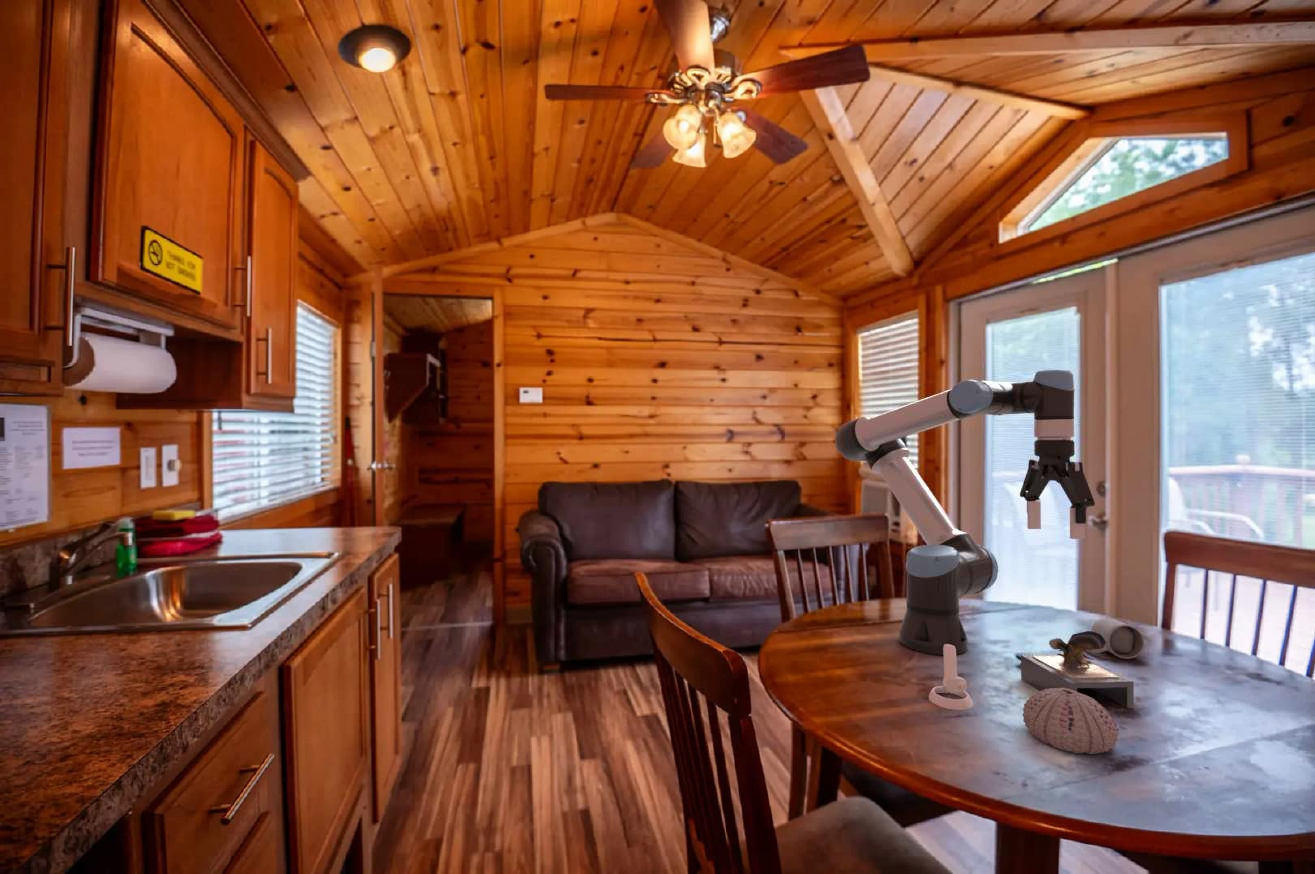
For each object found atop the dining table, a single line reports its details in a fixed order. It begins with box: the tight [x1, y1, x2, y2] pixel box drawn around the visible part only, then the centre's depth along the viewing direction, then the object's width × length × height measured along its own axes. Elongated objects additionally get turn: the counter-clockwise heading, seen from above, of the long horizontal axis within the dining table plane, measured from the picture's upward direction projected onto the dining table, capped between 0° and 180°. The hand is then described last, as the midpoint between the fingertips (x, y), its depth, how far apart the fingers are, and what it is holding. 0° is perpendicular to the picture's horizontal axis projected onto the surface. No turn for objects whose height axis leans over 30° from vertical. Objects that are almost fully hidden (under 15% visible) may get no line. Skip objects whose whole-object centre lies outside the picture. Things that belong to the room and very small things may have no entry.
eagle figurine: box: [1048, 630, 1106, 668], centre depth 118 cm, size 8×7×9 cm
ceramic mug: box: [1085, 618, 1145, 660], centre depth 138 cm, size 11×8×8 cm
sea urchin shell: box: [1022, 688, 1120, 755], centre depth 99 cm, size 13×14×8 cm
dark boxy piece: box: [1020, 653, 1135, 710], centre depth 116 cm, size 12×14×5 cm
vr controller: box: [928, 644, 974, 711], centre depth 115 cm, size 8×12×7 cm
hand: (1054, 533), depth 133 cm, fingers open, 13 cm apart
